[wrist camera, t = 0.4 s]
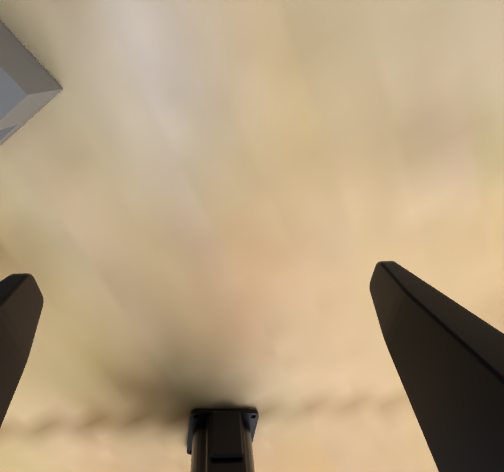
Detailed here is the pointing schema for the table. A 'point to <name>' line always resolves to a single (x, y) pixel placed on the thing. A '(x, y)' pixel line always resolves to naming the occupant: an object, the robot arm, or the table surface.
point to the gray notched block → (21, 84)
